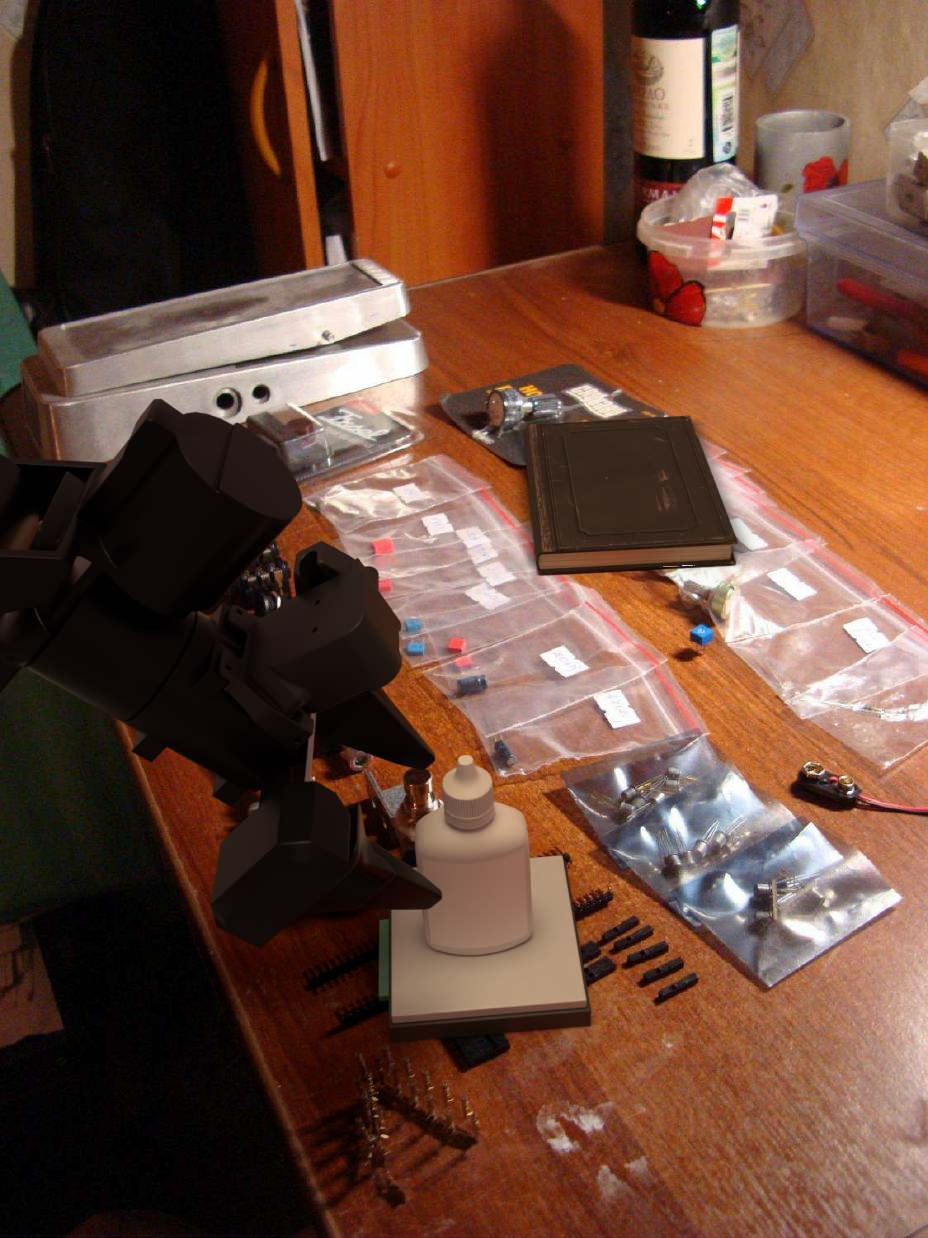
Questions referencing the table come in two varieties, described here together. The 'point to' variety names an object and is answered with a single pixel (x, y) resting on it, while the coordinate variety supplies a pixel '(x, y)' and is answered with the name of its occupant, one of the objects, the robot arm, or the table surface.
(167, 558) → the robot arm
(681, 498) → the hardcover book
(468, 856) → the eye dropper bottle
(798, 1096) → the table surface
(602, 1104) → the table surface
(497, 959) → the kitchen scale
